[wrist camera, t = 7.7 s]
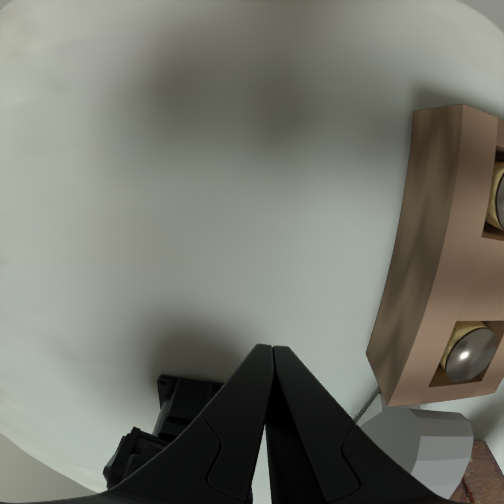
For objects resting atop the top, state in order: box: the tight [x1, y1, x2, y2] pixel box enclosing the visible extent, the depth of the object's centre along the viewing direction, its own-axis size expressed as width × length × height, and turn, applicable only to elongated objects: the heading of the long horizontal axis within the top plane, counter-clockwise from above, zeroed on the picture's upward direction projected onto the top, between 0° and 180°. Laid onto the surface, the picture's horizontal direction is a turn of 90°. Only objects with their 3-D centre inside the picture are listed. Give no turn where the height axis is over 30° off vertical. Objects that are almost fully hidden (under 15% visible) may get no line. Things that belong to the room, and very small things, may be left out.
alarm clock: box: [355, 393, 474, 499], centre depth 21 cm, size 23×6×13 cm, turn 162°
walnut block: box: [366, 104, 504, 407], centre depth 18 cm, size 18×10×6 cm, turn 175°
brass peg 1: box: [440, 321, 497, 382], centre depth 19 cm, size 4×4×6 cm
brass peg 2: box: [485, 160, 504, 230], centre depth 16 cm, size 4×4×6 cm
